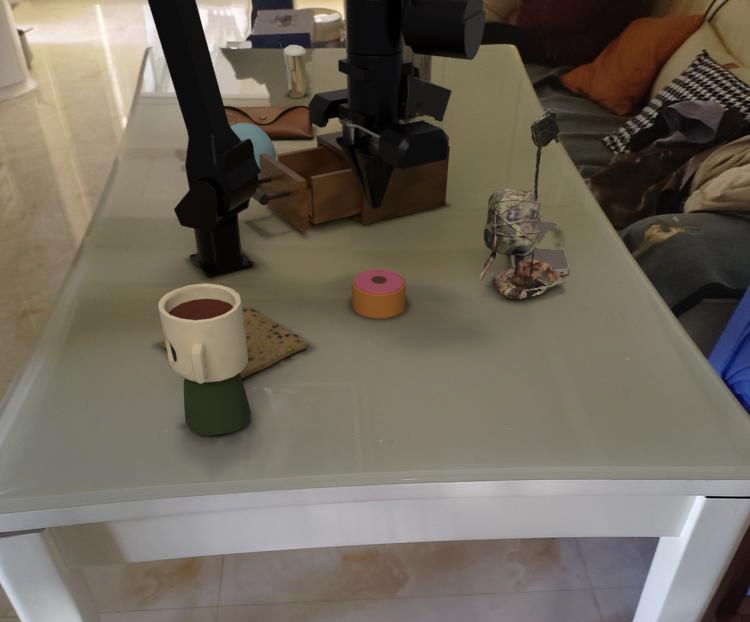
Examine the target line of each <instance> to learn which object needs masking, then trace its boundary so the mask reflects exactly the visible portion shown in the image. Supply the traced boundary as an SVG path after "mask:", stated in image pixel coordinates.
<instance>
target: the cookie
mask: <svg viewBox="0 0 750 622" xmlns="http://www.w3.org/2000/svg"><path fill="white" fill-rule="evenodd" d="M242 311H243V320H244V328H245V337H246V345H247V353H248V362H247V364H246V366H245V368H244V370H242V371H241V372H240V375H241V378H242V379H244V378H245V377H248V376H250V375H252V374H254V373H256V372H259V371H262V370H263V369H266V368H269V367H270V366H272V365H274V364H276V363H277V362H280V360H282V359H284V358H286V357H289V356H291V355H292V354H296V353H298V352H300V351H303V350H305V349H307V348H309V343H308V342H307V341H306V340H304V339H303V338H301V337H300V336H299V335H298V334H296V333H293V332H292V331H290V330H287V329H285V328H284V327H282V326H281V325H279V324H278V323H276V322H274V321H272V320H271V319H268V318H266V317H265V316H263V315H262V314H260V313H258V312H257V311H256V310H255V309H254V308H251V307H249V306H247V305H242ZM159 344H160V346H161V347H162V348H163V349H165V350H167V348H166V342H165V338H164V339H162V340H161V341H160V343H159Z"/></svg>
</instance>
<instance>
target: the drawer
mask: <svg viewBox="0 0 750 622" xmlns="http://www.w3.org/2000/svg"><path fill="white" fill-rule="evenodd" d="M259 159H260V170H261V178H260V179H258V181H259V184H261V189H260V188H259V187H258V188H257V190H256V192H255V194H254V196H252V197H251V198H252V199H253V200H255V201H256V202H257V203H258V204H260V205H261V206H268V207H269V208H271V209H272V210H273V211H274V212H276V213H277V214H279V215H280V216H281V217H282V218H284V219H285V220H286V221H287V222H288V223H290V224H291V225H293V226H294V227H295V228H297V229H298V230H299V231H300V232H305V231H309V230H310V226H309V224H310V223H309V221H310V222H311V223H313V224H315V225H317V224H320V223H325V222H329V221H333V220H334V221H335V220H338V219H342V218H346V217H351V215H356V214H360V213H361V188H360V186H359V183H358V181H357V179H356V177H355V175H354V173H353V171H352V169H351V167H350V165H349V163H348V161H347V159H346V158H344V157H342V156H341V155H339V154H337V153H336V152H334V151H332V150H331V149H329V148H327V147H326V146H319V147H317V146H315V147H308V148H304V149H298V150H291V151H288V152H282V153H277V154H276V159H274V158H273V157H271V156H270V155H269V154H267V153H263V154H259Z"/></svg>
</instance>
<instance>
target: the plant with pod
mask: <svg viewBox="0 0 750 622" xmlns="http://www.w3.org/2000/svg"><path fill="white" fill-rule="evenodd" d="M530 132H531V140H532V142H533V144H534V146H535V147H537V151H536V155H535V157H536V158H535V161H536V162H535V172H534V191H532V190H517V189H511V188H504V189H500V190H498V191H495V192H493V193H491V194H490V195H489V198H488V203H487V218H486V223H485V226H484V230H483V234H482V235H483V242H484V245H485V247H486V248H488V249H489V250H490V251H491V253H490V255H489V258H488V259H486V262H485V263H484V265H483V269H482V271H481V274H480V277H479V278H478V281H480V282H482V280H483V279H484V277H485V276H486V274H487V272H488V271H489V269H490V268H491V266H492V264H493V263H494V261H495V259H496V257H497V253H498V254H501V255H502V256H503V255H504V256H510V255H514V258H515V263H516V266H515V268H513V267H512V266H510V267H509V268H505V270H504V271H501V273H500V272H498V273H497V274H495V275H494V276H493V277H491V279H492V280H491V283H493V285H494V287H495V288H496V289H497V291H498V292H500V293H499V294H502V295H503V296H505V298H508V299H513V300H517V299H518V300H522V299H527V298H531V297H535V296H537V295H539V296H540V295H541V294H543V293H544V292H545V291H544V290H541V289H538V290H529V289H532V288H533V289H534V288H538V287H541V286H547V285H548V286H549V285H552V284H555V282H556V283H557V280H559V279H560V277H561V278H562V277H564V275H562V274H563V273H564V272H558V271H555V269H554V268H550V267H549V266H548V264H547V263H540V262H539V261H538V260H535V259H533V257H534V251H535V248H536V243H537V240H538V233H539V231H540V229H539V225H540V221H541V217H542V213H543V211H542V208H541V200H540V199H539V197H538V192H539V191H538V186H539V172H540V163H541V156H542V150H543V148H545V147H548V145H549V144H550V143H552V141H554V142H555V143H556V144H560V139H559V136H558V134H559V133H560V124H559V122H558V121H557V113H556V112H555V110H553V109H550V108H547V109H546V110H545V111H543V112H542V113H541V114H539V115H537V116H536V118H534V119H533V121H532V122H531V125H530ZM492 188H493V187H490V186H489V188H488V189H489V190H491V189H492ZM531 254H532V259H529V260H526V261H523V259H524V257H525V256H528V255H531ZM524 289H526V290H527V289H528V290H529V291H526V290H524ZM522 291H523V292H522ZM538 291H540V292H538Z"/></svg>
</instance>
